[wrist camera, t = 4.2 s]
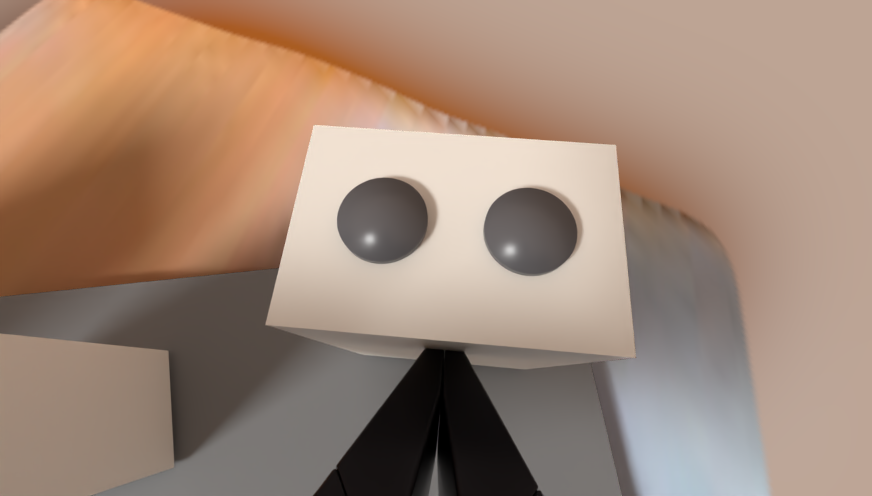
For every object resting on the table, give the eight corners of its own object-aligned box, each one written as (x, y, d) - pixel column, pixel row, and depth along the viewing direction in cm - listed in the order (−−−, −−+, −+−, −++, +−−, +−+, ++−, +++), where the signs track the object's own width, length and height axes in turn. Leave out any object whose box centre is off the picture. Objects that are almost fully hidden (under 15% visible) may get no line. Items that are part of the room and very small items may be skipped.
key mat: (554, 247, 16) (561, 239, 15) (639, 618, 12) (656, 639, 11) (4, 303, 16) (-24, 299, 15) (-120, 718, 11) (-172, 749, 10)
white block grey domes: (524, 369, 13) (642, 357, 6) (362, 354, 14) (259, 323, 6) (525, 260, 15) (619, 129, 7) (378, 248, 15) (312, 109, 7)
